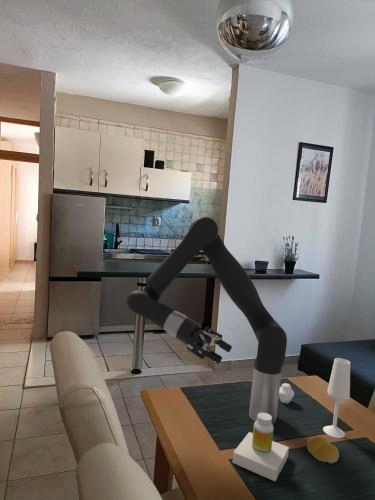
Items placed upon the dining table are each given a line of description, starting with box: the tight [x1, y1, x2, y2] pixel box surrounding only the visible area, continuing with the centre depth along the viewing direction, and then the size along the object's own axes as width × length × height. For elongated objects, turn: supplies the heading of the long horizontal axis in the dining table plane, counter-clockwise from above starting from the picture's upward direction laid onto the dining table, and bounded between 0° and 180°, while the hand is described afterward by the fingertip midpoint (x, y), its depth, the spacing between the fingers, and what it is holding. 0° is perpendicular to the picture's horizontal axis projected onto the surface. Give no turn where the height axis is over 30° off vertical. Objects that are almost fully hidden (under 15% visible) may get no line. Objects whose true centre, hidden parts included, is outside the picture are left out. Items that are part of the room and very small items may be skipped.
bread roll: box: [306, 436, 340, 464], centre depth 105 cm, size 8×9×4 cm
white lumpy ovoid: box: [279, 382, 295, 404], centre depth 136 cm, size 6×6×7 cm
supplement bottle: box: [252, 413, 275, 455], centre depth 100 cm, size 5×5×10 cm
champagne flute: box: [322, 357, 351, 439], centre depth 117 cm, size 7×7×24 cm
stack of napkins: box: [232, 431, 290, 482], centre depth 100 cm, size 12×12×3 cm
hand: (226, 354), depth 108 cm, fingers open, 8 cm apart
